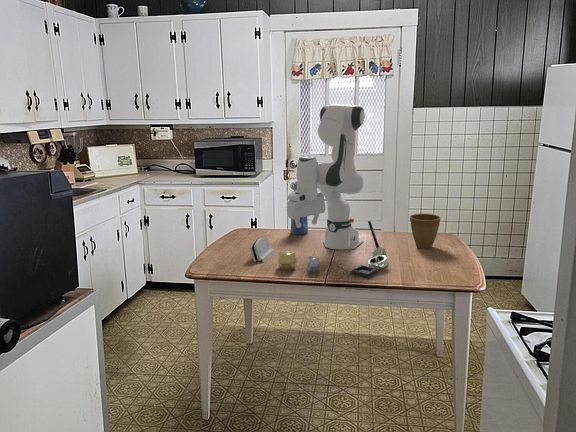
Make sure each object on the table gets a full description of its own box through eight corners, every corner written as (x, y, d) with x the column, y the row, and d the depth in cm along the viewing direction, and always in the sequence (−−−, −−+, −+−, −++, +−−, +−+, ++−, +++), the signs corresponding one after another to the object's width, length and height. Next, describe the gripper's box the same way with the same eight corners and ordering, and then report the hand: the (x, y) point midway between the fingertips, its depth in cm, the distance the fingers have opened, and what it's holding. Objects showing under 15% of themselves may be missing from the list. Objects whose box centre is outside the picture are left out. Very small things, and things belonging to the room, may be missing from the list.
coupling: (312, 267, 221) (312, 255, 219) (322, 270, 217) (322, 257, 216) (304, 271, 216) (304, 258, 215) (315, 274, 213) (315, 261, 212)
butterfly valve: (388, 272, 213) (391, 257, 228) (374, 231, 208) (378, 218, 224) (369, 276, 216) (373, 261, 231) (355, 236, 211) (360, 222, 227)
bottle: (296, 229, 285) (295, 179, 278) (311, 231, 280) (310, 180, 273) (287, 233, 277) (286, 181, 270) (302, 235, 272) (302, 183, 265)
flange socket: (360, 268, 218) (360, 264, 218) (378, 273, 212) (378, 268, 212) (349, 274, 211) (350, 269, 211) (368, 279, 206) (368, 274, 205)
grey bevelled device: (263, 262, 228) (256, 243, 227) (254, 265, 230) (247, 245, 229) (275, 252, 244) (268, 233, 243) (266, 254, 246) (260, 236, 244)
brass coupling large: (286, 263, 227) (285, 249, 225) (299, 267, 222) (299, 252, 220) (274, 268, 221) (274, 253, 219) (288, 272, 216) (288, 257, 214)
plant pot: (436, 243, 254) (438, 213, 250) (440, 252, 240) (442, 220, 236) (407, 242, 257) (408, 212, 253) (409, 250, 243) (410, 219, 239)
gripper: (318, 190, 218) (318, 221, 220) (284, 196, 204) (284, 228, 207) (328, 192, 213) (328, 223, 216) (294, 197, 199) (294, 230, 202)
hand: (306, 225), depth 211 cm, fingers open, 8 cm apart
